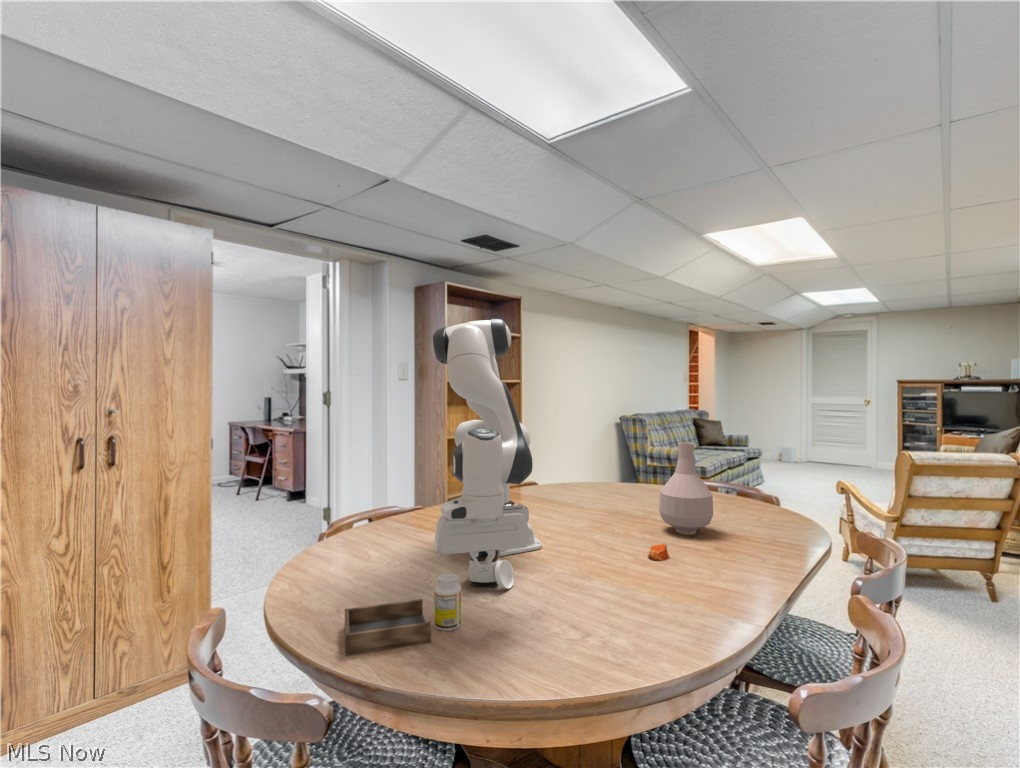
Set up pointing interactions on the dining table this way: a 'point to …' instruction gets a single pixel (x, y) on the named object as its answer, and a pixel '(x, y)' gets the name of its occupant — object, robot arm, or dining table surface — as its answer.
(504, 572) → the spread jar
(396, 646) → the tray
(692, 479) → the vase
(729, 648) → the dining table surface
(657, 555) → the rock
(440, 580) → the supplement bottle
